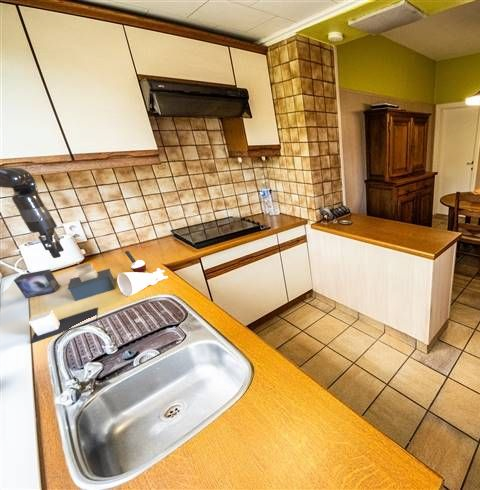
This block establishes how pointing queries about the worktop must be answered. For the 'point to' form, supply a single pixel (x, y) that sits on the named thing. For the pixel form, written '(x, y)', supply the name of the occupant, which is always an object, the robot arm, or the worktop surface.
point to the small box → (37, 283)
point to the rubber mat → (67, 324)
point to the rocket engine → (138, 281)
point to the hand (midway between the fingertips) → (59, 254)
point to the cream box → (86, 272)
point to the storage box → (92, 285)
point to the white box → (44, 322)
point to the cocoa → (136, 264)
